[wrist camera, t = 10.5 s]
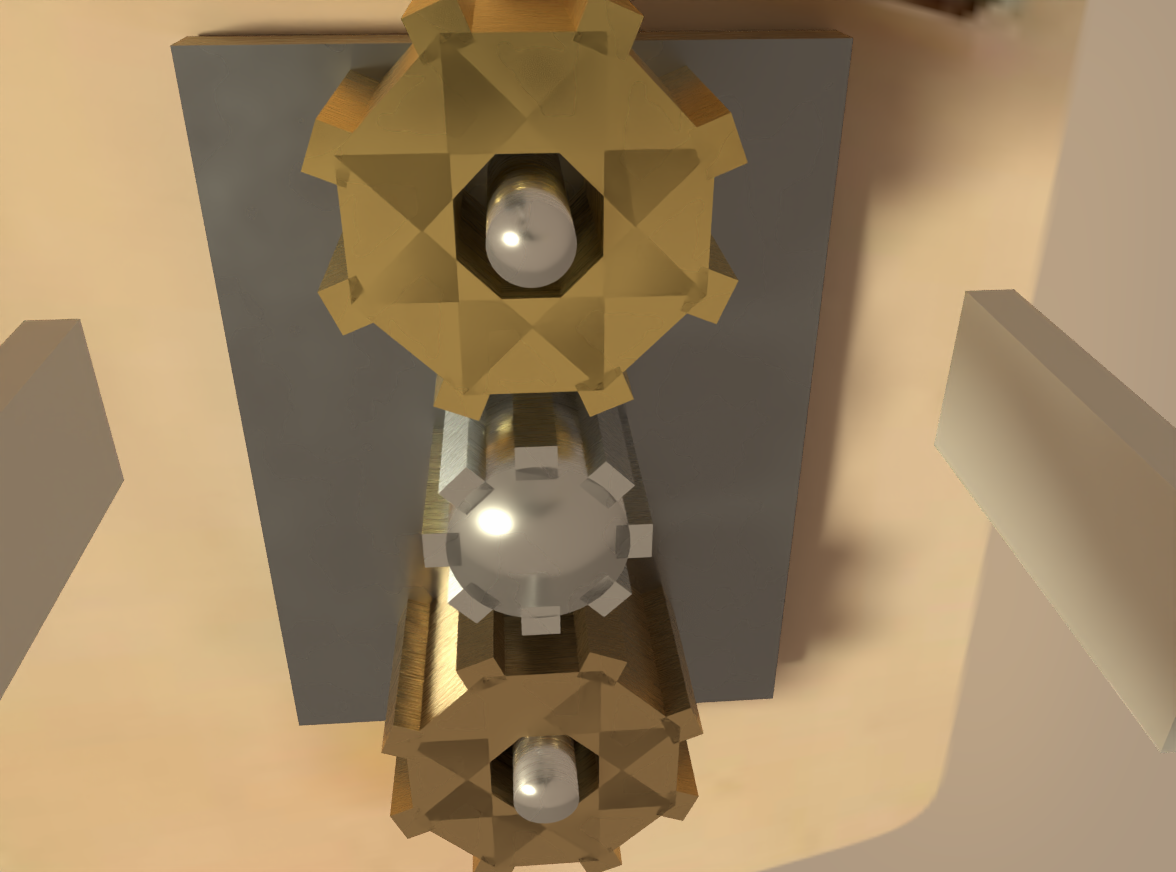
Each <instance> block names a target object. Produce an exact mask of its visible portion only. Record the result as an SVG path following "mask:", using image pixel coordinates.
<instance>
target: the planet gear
mask: <svg viewBox="0 0 1176 872" xmlns="http://www.w3.org/2000/svg"><path fill="white" fill-rule="evenodd" d="M643 18H644V16H643V15H642V14H641V13H640V12H639V11H638V10H637V9H636V8H635V7H634V6H633V5H632V4H631V3H630V1H629V0H412V1H411V3H410V5H409V6H408V8H407V10H406V11H405V13H404V15H403V16H402V18H401V20H402V22H403V24H404V26H405V28H406V30H407V32H408V34H409V36H410V39H411V41H412V44H411V46H410V47H409V48H408V49H407V50H406V51H405V53H404V54H403V55H402V56H401V57H400V58H399V60H398V61H397V62H396V63H395V64H394V65H393V66H392V68H391V69H390V70H389V71H388V72H387V73H386V75H385V76H384V77H383V78H382V79H381V80H380V81H378V80H376V79H373V78H371V77H368V76H366V75H363V74H360V73H358V72H355V71H353V70H350V71H349V72H348V73H347V75H346V76H345V78H344V79H343V81H342V82H341V83H340V85H339V86H338V88H337V89H336V91H335V92H334V93H333V95H332V96H331V98H330V99H329V101H328V102H327V103H326V105H325V106H324V108H323V109H322V111H321V112H320V113H319V115H318V116H317V118H316V119H315V123H314V126H313V130H312V133H311V137H310V140H309V144H308V148H307V151H306V155H305V158H304V162H303V165H302V169H301V172H303V173H306V174H309V175H311V176H314V177H317V178H320V179H322V180H325V181H328V182H331V183H333V184H336V185H337V189H338V198H339V206H340V214H341V223H342V234H341V236H340V239H339V241H338V243H337V246H336V248H335V251H334V253H333V255H332V258H331V260H330V263H329V265H328V268H327V270H326V272H325V275H324V277H323V280H322V282H321V285H320V287H319V289H318V294H319V296H320V298H321V299H322V301H323V303H324V304H325V306H326V308H327V309H328V311H329V313H330V314H331V316H332V318H333V319H334V321H335V323H336V325H337V326H338V328H339V330H340V331H341V333H342V335H346V334H348V333H350V332H353V331H355V330H357V329H360V328H362V327H364V326H367V325H369V324H371V323H374V324H376V325H377V326H378V327H379V328H381V329H382V330H383V331H384V332H386V333H387V334H388V335H389V336H391V337H392V338H393V339H394V340H396V341H397V342H398V343H399V344H400V345H402V346H403V347H404V348H405V349H407V350H408V351H409V352H410V353H412V354H413V355H414V356H415V357H417V358H418V359H419V360H420V361H422V362H423V363H424V364H425V365H427V366H428V367H429V368H430V369H432V370H433V371H434V372H435V373H437V377H436V386H435V395H434V404H433V407H437V408H440V409H443V410H446V411H449V412H452V413H455V414H459V415H462V416H465V417H468V418H471V419H474V420H477V421H479V420H480V417H481V415H482V412H483V410H484V408H485V405H486V403H487V400H488V398H489V395H490V394H512V393H541V392H569V391H578V393H579V395H580V397H581V399H582V401H583V403H584V405H585V408H586V410H587V412H588V414H589V416H590V417H591V416H594V415H596V414H599V413H601V412H603V411H606V410H608V409H611V408H613V407H616V406H618V405H621V404H623V403H626V402H628V401H631V400H633V399H634V398H633V394H632V390H631V386H630V382H629V378H628V375H627V371H626V369H627V368H628V367H629V366H631V365H632V364H633V363H634V362H635V361H636V360H637V359H638V358H639V357H640V356H641V355H642V354H644V353H645V352H646V351H647V350H648V349H649V348H650V347H651V346H652V345H653V344H654V343H655V342H657V341H658V340H659V339H660V338H661V337H662V336H663V335H664V334H665V333H666V332H667V331H668V330H670V329H671V328H672V327H673V326H674V325H675V324H676V323H677V322H678V321H679V320H680V319H681V318H683V317H684V316H685V315H686V314H690V315H693V316H696V317H698V318H701V319H704V320H707V321H709V322H712V323H715V324H717V322H718V320H719V318H720V316H721V314H722V312H723V310H724V308H725V306H726V304H727V302H728V300H729V299H730V297H731V295H732V293H733V291H734V289H735V287H736V285H737V283H738V281H739V280H738V279H737V277H736V275H735V274H734V272H733V270H732V269H731V267H730V265H729V263H728V262H727V260H726V258H725V257H724V255H723V253H722V251H721V250H720V248H719V246H718V245H717V243H716V241H715V239H714V238H713V236H712V234H711V223H712V207H713V191H714V177H716V176H718V175H721V174H723V173H725V172H728V171H730V170H732V169H735V168H737V167H739V166H742V165H744V164H746V163H748V162H747V159H746V156H745V153H744V150H743V147H742V144H741V141H740V138H739V135H738V132H737V129H736V126H735V123H734V120H733V117H732V114H731V112H730V111H729V110H728V109H727V108H726V107H725V106H724V105H723V103H722V102H721V101H720V100H719V99H718V98H717V97H716V96H715V95H714V94H713V93H712V92H711V91H710V90H709V89H708V88H707V87H706V86H705V85H704V83H703V82H702V81H701V80H700V79H699V78H698V77H697V76H696V75H695V74H694V73H693V72H692V71H691V70H690V69H689V68H688V67H687V66H683V67H681V68H679V69H677V70H674V71H672V72H670V73H668V74H665V75H663V76H661V77H658V76H657V75H656V74H655V73H654V72H653V71H652V70H651V69H650V68H649V67H648V66H647V64H646V63H645V62H644V61H643V60H642V59H641V58H640V57H639V56H638V55H637V54H636V53H635V51H634V50H633V49H632V48H631V47H632V45H633V43H634V40H635V38H636V35H637V33H638V30H639V28H640V25H641V23H642V20H643ZM521 153H560V154H561V155H562V156H563V157H564V158H565V159H566V160H567V161H568V162H569V163H570V164H571V165H572V166H573V167H574V168H575V169H576V170H577V171H578V172H579V173H580V174H582V175H583V176H584V185H583V186H582V187H581V188H580V189H579V190H578V191H577V192H576V194H575V195H574V196H573V197H572V198H571V199H570V200H569V201H568V202H569V206H570V211H571V216H572V220H573V225H574V229H575V234H576V239H577V249H576V254H575V258H574V260H573V262H572V264H571V266H570V268H569V269H568V271H567V272H566V273H565V274H564V275H563V276H562V277H561V278H559V279H558V280H556V281H555V282H553V283H551V284H549V285H546V286H542V287H537V288H526V287H520V286H517V285H514V284H512V283H509V282H508V281H506V280H505V279H503V278H502V277H501V276H500V275H499V274H498V273H497V272H496V271H495V270H494V268H493V267H492V265H491V263H490V261H489V259H488V256H487V252H486V213H487V209H486V208H485V207H484V206H483V205H482V204H481V203H480V202H478V201H477V200H476V199H475V198H474V197H473V196H472V195H471V194H470V193H469V192H467V191H466V190H465V189H464V187H465V186H466V185H467V184H468V183H469V181H470V180H471V179H472V178H473V177H474V176H475V175H476V174H477V173H478V172H479V171H480V170H481V169H482V168H483V167H484V165H485V164H486V163H487V162H488V161H489V160H490V159H491V158H492V157H493V156H494V155H495V154H521Z"/></svg>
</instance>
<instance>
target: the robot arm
mask: <svg viewBox="0 0 1176 872" xmlns="http://www.w3.org/2000/svg"><path fill="white" fill-rule="evenodd" d="M934 446H935V447H936V448H937V450H938V451H939V453H940V454H941V455H942V457H943V458H944V459H945V461H946V462H947V463H948V465H949V466H950V468H951V469H952V470H953V472H954V473H955V474H956V476H957V477H958V478H959V480H960V481H961V482H962V484H963V485H964V487H965V488H966V489H967V491H968V492H969V493H970V495H971V496H972V497H973V499H974V500H975V501H976V503H977V504H978V506H979V507H980V508H981V510H982V511H983V512H984V514H985V515H986V516H987V518H988V519H989V520H990V522H991V523H992V525H993V526H994V527H995V528H996V530H997V531H998V533H999V534H1000V535H1001V537H1002V538H1003V539H1004V541H1005V542H1006V544H1007V545H1008V546H1009V548H1010V549H1011V550H1012V552H1013V553H1014V554H1015V556H1016V557H1017V559H1018V560H1019V561H1020V562H1021V564H1022V565H1023V566H1024V568H1025V569H1026V571H1027V572H1028V573H1029V575H1030V576H1031V578H1032V579H1033V580H1034V582H1035V583H1036V584H1037V585H1038V587H1039V588H1040V590H1041V591H1042V592H1043V594H1044V595H1045V597H1046V598H1047V599H1048V601H1049V602H1050V603H1051V605H1052V606H1053V607H1054V609H1055V610H1056V611H1057V613H1058V614H1059V616H1060V617H1061V618H1062V619H1063V621H1064V622H1065V624H1066V625H1067V626H1068V628H1069V629H1070V631H1071V632H1072V633H1073V635H1074V636H1075V637H1076V639H1077V640H1078V641H1079V643H1080V644H1081V645H1082V647H1083V648H1084V650H1085V651H1086V652H1087V653H1088V655H1089V656H1090V658H1091V659H1092V660H1093V662H1094V663H1095V664H1096V666H1097V667H1098V669H1099V670H1100V671H1101V673H1102V674H1103V675H1104V677H1105V678H1106V679H1107V681H1108V682H1109V683H1110V685H1111V686H1112V688H1113V689H1114V690H1115V692H1116V693H1117V694H1118V696H1119V697H1120V698H1121V700H1122V701H1123V702H1124V704H1125V705H1126V706H1127V708H1128V709H1129V711H1130V712H1131V713H1132V715H1133V716H1134V717H1135V719H1136V720H1137V722H1138V723H1139V724H1140V726H1141V727H1142V728H1143V730H1144V731H1145V732H1146V734H1147V735H1148V737H1149V738H1150V739H1151V741H1152V742H1153V743H1154V745H1155V746H1156V747H1157V749H1158V750H1159V751H1160V753H1167V752H1176V428H1175V427H1174V426H1172V425H1171V424H1170V423H1169V422H1168V421H1166V419H1164V418H1163V417H1162V416H1161V415H1160V414H1159V413H1157V412H1156V411H1155V410H1154V409H1153V408H1152V407H1150V406H1149V405H1148V404H1147V403H1146V402H1144V401H1143V400H1142V399H1141V398H1140V397H1139V396H1138V395H1136V394H1135V393H1134V392H1133V391H1132V390H1131V389H1129V388H1128V387H1127V386H1126V385H1124V384H1123V383H1122V382H1121V381H1120V380H1119V379H1118V378H1117V377H1115V376H1114V375H1113V374H1112V373H1111V372H1110V371H1108V370H1107V369H1106V368H1105V367H1103V365H1101V364H1100V363H1099V362H1098V361H1097V360H1096V359H1094V358H1093V357H1092V356H1091V355H1090V354H1089V353H1087V352H1086V351H1085V350H1084V349H1083V348H1082V347H1080V346H1079V345H1078V344H1077V343H1076V342H1075V341H1073V340H1072V339H1071V338H1070V337H1069V336H1068V335H1066V334H1065V333H1064V332H1063V331H1062V330H1061V329H1059V328H1058V327H1057V326H1056V325H1055V324H1053V323H1052V322H1051V321H1050V320H1049V319H1048V318H1047V317H1045V316H1044V315H1043V314H1042V313H1041V312H1040V311H1038V310H1037V309H1036V308H1035V307H1034V306H1033V305H1031V304H1030V303H1029V302H1028V301H1027V300H1026V299H1024V298H1023V297H1022V296H1021V295H1020V294H1019V293H1017V292H1016V291H1015V290H1014V289H1013V290H981V291H966V292H965V297H964V302H963V307H962V312H961V316H960V321H959V326H958V331H957V336H956V341H955V346H954V350H953V355H952V360H951V365H950V370H949V375H948V380H947V384H946V389H945V394H944V399H943V404H942V409H941V414H940V418H939V423H938V428H937V433H936V438H935V443H934ZM123 481H124V478H123V475H122V471H121V467H120V464H119V460H118V456H117V453H116V449H115V445H114V442H113V438H112V434H111V431H110V427H109V424H108V420H107V416H106V413H105V409H104V405H103V402H102V398H101V394H100V391H99V387H98V383H97V380H96V376H95V372H94V369H93V365H92V361H91V358H90V354H89V350H88V347H87V343H86V339H85V336H84V332H83V329H82V325H81V321H80V319H60V320H28V321H24V322H23V323H22V324H21V325H20V326H19V327H18V328H17V329H16V330H15V331H14V332H13V333H12V334H11V335H10V336H9V337H8V338H7V339H6V340H5V342H4V343H3V344H2V345H1V346H0V700H1V698H2V696H3V694H4V692H5V691H6V689H7V687H8V685H9V684H10V682H11V680H12V678H13V676H14V675H15V673H16V671H17V669H18V668H19V666H20V664H21V662H22V660H23V659H24V657H25V655H26V653H27V652H28V650H29V648H30V646H31V644H32V643H33V641H34V639H35V637H36V636H37V634H38V632H39V630H40V628H41V627H42V625H43V623H44V621H45V620H46V618H47V616H48V614H49V612H50V611H51V609H52V607H53V605H54V604H55V602H56V600H57V598H58V596H59V595H60V593H61V591H62V589H63V588H64V586H65V584H66V582H67V581H68V579H69V577H70V575H71V573H72V572H73V570H74V568H75V566H76V565H77V563H78V561H79V559H80V557H81V556H82V554H83V552H84V550H85V549H86V547H87V545H88V543H89V541H90V540H91V538H92V536H93V534H94V533H95V531H96V529H97V527H98V525H99V524H100V522H101V520H102V518H103V517H104V515H105V513H106V511H107V509H108V508H109V506H110V504H111V502H112V501H113V499H114V497H115V495H116V493H117V492H118V490H119V488H120V486H121V485H122V483H123Z"/></svg>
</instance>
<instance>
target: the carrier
mask: <svg viewBox="0 0 1176 872" xmlns="http://www.w3.org/2000/svg"><path fill="white" fill-rule="evenodd" d="M411 44H412V41H411V39H410V36H409V34H375V35H278V36H187V37H185V38H183V39H181V40H180V41H178V42H176V43H174V44H172V45H171V51H172V56H173V62H174V67H175V72H176V78H177V83H178V88H179V93H180V99H181V104H182V109H183V114H184V120H185V125H186V130H187V136H188V141H189V146H190V151H191V157H192V162H193V167H194V173H195V178H196V183H197V188H198V194H199V199H200V204H201V209H202V215H203V220H204V225H205V231H206V236H207V241H208V246H209V252H210V257H211V262H212V267H213V273H214V278H215V283H216V289H217V294H218V299H219V304H220V310H221V315H222V320H223V326H224V331H225V336H226V341H227V347H228V352H229V357H230V362H231V368H232V373H233V378H234V384H235V389H236V394H237V399H238V405H239V410H240V415H241V420H242V426H243V431H244V436H245V442H246V447H247V452H248V457H249V463H250V468H251V473H252V478H253V484H254V489H255V494H256V500H257V505H258V510H259V515H260V521H261V526H262V531H263V537H264V542H265V547H266V552H267V558H268V563H269V568H270V573H271V579H272V584H273V589H274V595H275V600H276V605H277V610H278V616H279V621H280V626H281V631H282V637H283V642H284V647H285V653H286V658H287V663H288V668H289V674H290V679H291V684H292V690H293V695H294V700H295V705H296V711H297V716H298V721H299V726H300V725H317V724H335V723H352V722H370V721H385V720H386V712H387V705H388V697H389V689H390V681H391V673H392V665H393V657H394V649H395V642H396V634H397V626H398V622H399V620H400V617H401V615H402V612H403V610H404V608H405V605H406V603H407V600H408V599H411V600H415V601H418V602H422V603H426V604H431V603H432V602H434V601H435V600H436V599H437V598H438V597H439V596H440V595H441V594H442V593H444V592H445V591H446V590H447V589H448V600H447V603H448V604H449V605H451V606H452V607H454V608H455V609H456V610H458V611H459V612H461V613H462V614H464V615H465V616H467V617H468V618H469V619H471V620H472V621H474V622H475V623H478V622H479V621H480V620H482V619H483V618H484V617H485V616H486V615H487V614H488V613H490V612H491V611H492V610H495V611H497V612H501V613H504V614H507V615H511V616H516V617H521V624H522V635H541V634H560V615H564V614H567V613H570V612H573V611H576V610H578V609H580V608H583V607H585V606H587V605H589V606H590V607H591V608H593V609H594V610H595V611H597V612H598V613H599V614H601V615H602V616H603V617H605V616H606V615H607V614H609V613H610V612H611V611H612V610H613V609H615V608H616V607H617V606H618V605H619V604H621V603H622V602H623V601H624V600H625V599H627V598H628V597H629V596H630V595H631V594H632V592H631V587H633V588H634V589H635V590H637V591H638V592H639V593H641V594H643V593H646V592H648V591H651V590H654V589H656V588H659V587H663V589H664V591H665V593H666V595H667V597H668V599H669V601H670V603H671V605H672V607H673V610H674V613H675V617H676V621H677V626H678V630H679V634H680V638H681V642H682V646H683V651H684V655H685V659H686V663H687V667H688V671H689V676H690V680H691V684H692V688H693V692H694V696H695V701H696V703H701V702H718V701H736V700H753V699H771V698H773V692H774V684H775V675H776V667H777V659H778V651H779V643H780V634H781V626H782V618H783V610H784V602H785V593H786V585H787V577H788V569H789V561H790V552H791V544H792V536H793V528H794V520H795V511H796V503H797V495H798V487H799V479H800V470H801V462H802V454H803V446H804V437H805V429H806V421H807V413H808V405H809V396H810V388H811V380H812V372H813V364H814V355H815V347H816V339H817V331H818V323H819V314H820V306H821V298H822V290H823V282H824V273H825V265H826V257H827V249H828V241H829V232H830V224H831V216H832V208H833V200H834V191H835V183H836V175H837V167H838V159H839V150H840V142H841V134H842V126H843V118H844V109H845V101H846V93H847V85H848V76H849V68H850V60H851V52H852V44H853V38H852V37H850V36H848V35H846V34H844V33H842V32H839V31H837V30H763V31H666V32H638V33H637V35H636V38H635V40H634V43H633V45H632V47H631V48H632V49H633V50H634V51H635V53H636V54H637V55H638V56H639V57H640V58H641V59H642V60H643V61H644V62H645V63H646V64H647V66H648V67H649V68H650V69H651V70H652V71H653V72H654V73H655V74H656V75H657V76H658V77H661V76H663V75H665V74H668V73H670V72H672V71H674V70H677V69H679V68H681V67H683V66H687V67H688V68H689V69H690V70H691V71H692V72H693V73H694V74H695V75H696V76H697V77H698V78H699V79H700V80H701V81H702V82H703V83H704V85H705V86H706V87H707V88H708V89H709V90H710V91H711V92H712V93H713V94H714V95H715V96H716V97H717V98H718V99H719V100H720V101H721V102H722V103H723V105H724V106H725V107H726V108H727V109H728V110H729V111H730V112H731V114H732V117H733V120H734V123H735V126H736V129H737V132H738V135H739V138H740V141H741V144H742V147H743V150H744V153H745V156H746V159H747V162H748V163H746V164H744V165H742V166H739V167H737V168H735V169H732V170H730V171H728V172H725V173H723V174H721V175H718V176H716V177H714V191H713V207H712V223H711V234H712V236H713V238H714V239H715V241H716V243H717V245H718V246H719V248H720V250H721V251H722V253H723V255H724V257H725V258H726V260H727V262H728V263H729V265H730V267H731V269H732V270H733V272H734V274H735V275H736V277H737V279H738V280H739V281H738V283H737V285H736V287H735V289H734V291H733V293H732V295H731V297H730V299H729V300H728V302H727V304H726V306H725V308H724V310H723V312H722V314H721V316H720V318H719V320H718V322H717V324H715V323H712V322H709V321H707V320H704V319H701V318H698V317H696V316H693V315H690V314H686V315H685V316H684V317H683V318H681V319H680V320H679V321H678V322H677V323H676V324H675V325H674V326H673V327H672V328H671V329H670V330H668V331H667V332H666V333H665V334H664V335H663V336H662V337H661V338H660V339H659V340H658V341H657V342H655V343H654V344H653V345H652V346H651V347H650V348H649V349H648V350H647V351H646V352H645V353H644V354H642V355H641V356H640V357H639V358H638V359H637V360H636V361H635V362H634V363H633V364H632V365H631V366H629V367H628V368H627V369H626V371H627V375H628V378H629V382H630V386H631V390H632V394H633V398H634V399H633V400H631V401H628V402H626V403H623V404H621V405H618V406H616V407H613V408H611V409H608V410H606V411H603V412H601V413H599V414H596V415H594V416H591V417H590V416H589V414H588V412H587V410H586V408H585V405H584V403H583V401H582V399H581V397H580V395H579V393H578V391H569V392H541V393H512V394H490V395H489V398H488V400H487V403H486V405H485V408H484V410H483V412H482V415H481V417H480V420H479V421H477V420H474V419H471V418H468V417H465V416H462V415H459V414H455V413H452V412H449V411H446V410H443V409H440V408H437V407H433V404H434V395H435V386H436V377H437V373H435V372H434V371H433V370H432V369H430V368H429V367H428V366H427V365H425V364H424V363H423V362H422V361H420V360H419V359H418V358H417V357H415V356H414V355H413V354H412V353H410V352H409V351H408V350H407V349H405V348H404V347H403V346H402V345H400V344H399V343H398V342H397V341H396V340H394V339H393V338H392V337H391V336H389V335H388V334H387V333H386V332H384V331H383V330H382V329H381V328H379V327H378V326H377V325H376V324H374V323H371V324H369V325H367V326H364V327H362V328H360V329H357V330H355V331H353V332H350V333H348V334H346V335H342V333H341V331H340V330H339V328H338V326H337V325H336V323H335V321H334V319H333V318H332V316H331V314H330V313H329V311H328V309H327V308H326V306H325V304H324V303H323V301H322V299H321V298H320V296H319V294H318V289H319V287H320V285H321V282H322V280H323V277H324V275H325V272H326V270H327V268H328V265H329V263H330V260H331V258H332V255H333V253H334V251H335V248H336V246H337V243H338V241H339V239H340V236H341V234H342V223H341V214H340V206H339V198H338V189H337V185H336V184H333V183H331V182H328V181H325V180H322V179H320V178H317V177H314V176H311V175H309V174H306V173H303V172H301V169H302V165H303V162H304V158H305V155H306V151H307V148H308V144H309V140H310V137H311V133H312V130H313V126H314V123H315V119H316V118H317V116H318V115H319V113H320V112H321V111H322V109H323V108H324V106H325V105H326V103H327V102H328V101H329V99H330V98H331V96H332V95H333V93H334V92H335V91H336V89H337V88H338V86H339V85H340V83H341V82H342V81H343V79H344V78H345V76H346V75H347V73H348V72H349V71H350V70H353V71H355V72H358V73H360V74H363V75H366V76H368V77H371V78H373V79H376V80H378V81H380V80H381V79H382V78H383V77H384V76H385V75H386V73H387V72H388V71H389V70H390V69H391V68H392V66H393V65H394V64H395V63H396V62H397V61H398V60H399V58H400V57H401V56H402V55H403V54H404V53H405V51H406V50H407V49H408V48H409V47H410V46H411ZM583 185H584V176H583V175H582V174H580V173H579V172H578V171H577V170H576V169H575V168H574V167H573V166H572V165H571V164H570V163H569V162H568V161H567V160H566V159H565V158H564V157H563V156H562V155H561V154H560V153H521V154H495V155H494V156H493V157H492V158H491V159H490V160H489V161H488V162H487V163H486V164H485V165H484V167H483V168H482V169H481V170H480V171H479V172H478V173H477V174H476V175H475V176H474V177H473V178H472V179H471V180H470V181H469V183H468V184H467V185H466V186H465V187H464V189H465V190H466V191H467V192H469V193H470V194H471V195H472V196H473V197H474V198H475V199H476V200H477V201H478V202H480V203H481V204H482V205H483V206H484V207H485V208H486V209H487V213H486V252H487V256H488V259H489V261H490V263H491V265H492V267H493V268H494V270H495V271H496V272H497V273H498V274H499V275H500V276H501V277H502V278H503V279H505V280H506V281H508V282H509V283H512V284H514V285H517V286H520V287H526V288H537V287H542V286H546V285H549V284H551V283H553V282H555V281H556V280H558V279H559V278H561V277H562V276H563V275H564V274H565V273H566V272H567V271H568V269H569V268H570V266H571V264H572V262H573V260H574V258H575V254H576V249H577V239H576V234H575V229H574V225H573V220H572V216H571V211H570V206H569V202H568V201H569V200H570V199H571V198H572V197H573V196H574V195H575V194H576V192H577V191H578V190H579V189H580V188H581V187H582V186H583ZM512 746H513V795H514V807H515V810H516V811H517V813H518V814H519V815H520V816H521V817H523V818H524V819H526V820H528V821H531V822H535V823H553V822H557V821H560V820H563V819H565V818H567V817H568V816H570V815H571V814H572V813H573V812H574V811H575V810H576V808H577V806H578V803H579V791H578V780H577V769H576V758H575V747H574V739H573V738H571V737H570V736H568V735H552V736H536V737H521V738H520V739H518V740H517V741H516V742H515V743H513V744H512Z"/></svg>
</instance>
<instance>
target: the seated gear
mask: <svg viewBox="0 0 1176 872" xmlns="http://www.w3.org/2000/svg"><path fill="white" fill-rule="evenodd" d="M631 592H632V594H631V595H630V596H629V597H628V598H627V599H625V600H624V601H623V602H622V603H621V604H619V605H618V606H617V607H616V608H615V609H613V610H612V611H611V612H610V613H609V614H607V615H606V616H605V617H603V616H602V615H601V614H599V613H598V612H597V611H595V610H594V609H593V608H591V607H590V606H589V605H587V606H585V607H583V608H580V609H578V610H576V611H573V612H570V613H567V614H564V615H560V634H541V635H522V624H521V617H516V616H511V615H507V614H504V613H501V612H497V611H495V610H492V611H491V612H490V613H488V614H487V615H486V616H485V617H484V618H483V619H482V620H480V621H479V622H478V623H475V622H474V621H472V620H471V619H469V618H468V617H467V616H465V615H464V614H462V613H461V612H459V611H458V610H456V609H455V608H454V607H452V606H451V605H449V604H448V603H447V600H448V589H447V590H446V591H445V592H444V593H442V594H441V595H440V596H439V597H438V598H437V599H436V600H435V601H434V602H432V603H431V604H426V603H422V602H418V601H415V600H411V599H408V600H407V603H406V605H405V608H404V610H403V612H402V615H401V617H400V620H399V622H398V626H397V634H396V642H395V649H394V657H393V665H392V673H391V681H390V689H389V697H388V705H387V712H386V720H385V728H384V736H383V744H382V752H381V753H384V754H389V755H393V756H397V757H396V767H395V776H394V785H393V794H392V803H391V812H390V817H391V818H392V819H393V821H394V822H395V823H396V824H397V826H398V827H399V828H400V830H401V831H402V832H403V833H404V835H405V836H406V837H407V839H409V838H411V837H414V836H417V835H420V834H423V833H425V832H428V831H431V832H433V833H435V834H437V835H438V836H440V837H442V838H444V839H445V840H447V841H449V842H451V843H452V844H454V845H456V846H458V847H460V848H461V849H463V850H465V851H467V852H468V853H470V854H472V855H473V872H512V871H513V869H514V867H515V866H529V865H544V864H558V863H573V862H580V863H581V864H582V866H583V867H584V869H585V870H586V872H602V871H605V870H608V869H611V868H614V867H617V866H620V865H622V861H621V853H620V845H622V844H623V843H624V842H626V841H627V840H628V839H630V838H631V837H633V836H634V835H635V834H637V833H638V832H639V831H641V830H642V829H643V828H645V827H646V826H648V825H649V824H650V823H652V822H653V821H654V820H656V819H657V818H659V817H660V816H664V817H668V818H673V819H677V820H682V821H683V820H684V818H685V817H686V815H687V814H688V812H689V810H690V809H691V807H692V806H693V804H694V803H695V801H696V800H697V798H698V792H697V787H696V783H695V778H694V773H693V769H692V764H691V760H690V755H689V751H688V746H687V741H686V740H687V739H690V738H693V737H696V736H698V735H701V734H703V730H702V726H701V721H700V717H699V713H698V709H697V705H696V701H695V696H694V692H693V688H692V684H691V680H690V676H689V671H688V667H687V663H686V659H685V655H684V651H683V646H682V642H681V638H680V634H679V630H678V626H677V621H676V617H675V613H674V610H673V607H672V605H671V603H670V601H669V599H668V597H667V595H666V593H665V591H664V589H663V587H659V588H656V589H654V590H651V591H648V592H646V593H643V594H641V593H639V592H638V591H637V590H635V589H634V588H633V587H631ZM552 735H568V736H570V737H571V738H573V739H574V747H575V758H576V769H577V780H578V791H579V803H578V806H577V808H576V810H575V811H574V812H573V813H572V814H571V815H570V816H568V817H567V818H565V819H563V820H560V821H557V822H553V823H535V822H531V821H528V820H526V819H524V818H523V817H521V816H520V815H519V814H518V813H517V811H516V810H515V807H514V795H513V746H512V744H513V743H515V742H516V741H517V740H518V739H520V738H521V737H536V736H552Z"/></svg>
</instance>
